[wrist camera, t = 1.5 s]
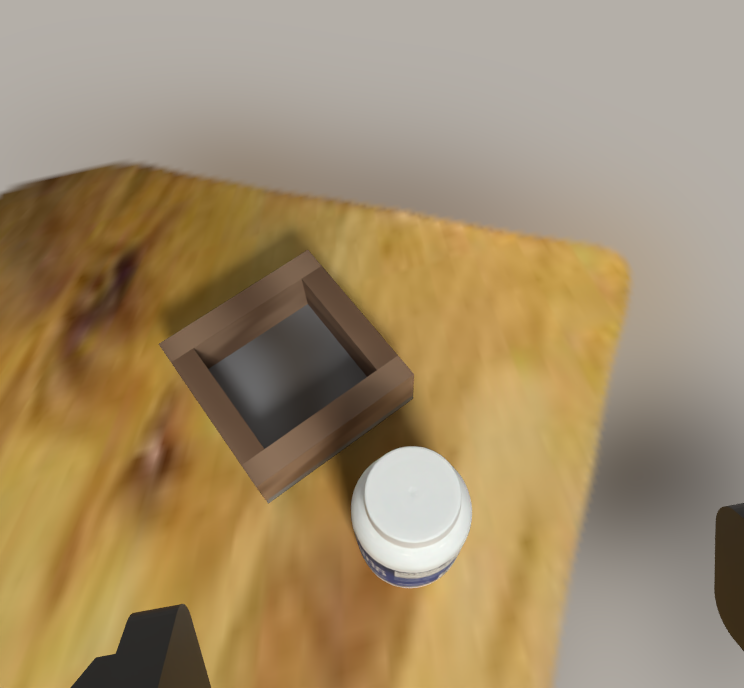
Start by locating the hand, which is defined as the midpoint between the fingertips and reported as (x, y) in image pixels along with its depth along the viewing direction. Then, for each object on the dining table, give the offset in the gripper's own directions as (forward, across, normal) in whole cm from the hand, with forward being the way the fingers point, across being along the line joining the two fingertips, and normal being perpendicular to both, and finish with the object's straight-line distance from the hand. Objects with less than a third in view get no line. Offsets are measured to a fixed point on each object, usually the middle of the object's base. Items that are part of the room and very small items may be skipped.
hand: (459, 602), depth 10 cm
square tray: (+30, +4, +8) cm, 31 cm away
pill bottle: (+23, -1, +15) cm, 27 cm away
